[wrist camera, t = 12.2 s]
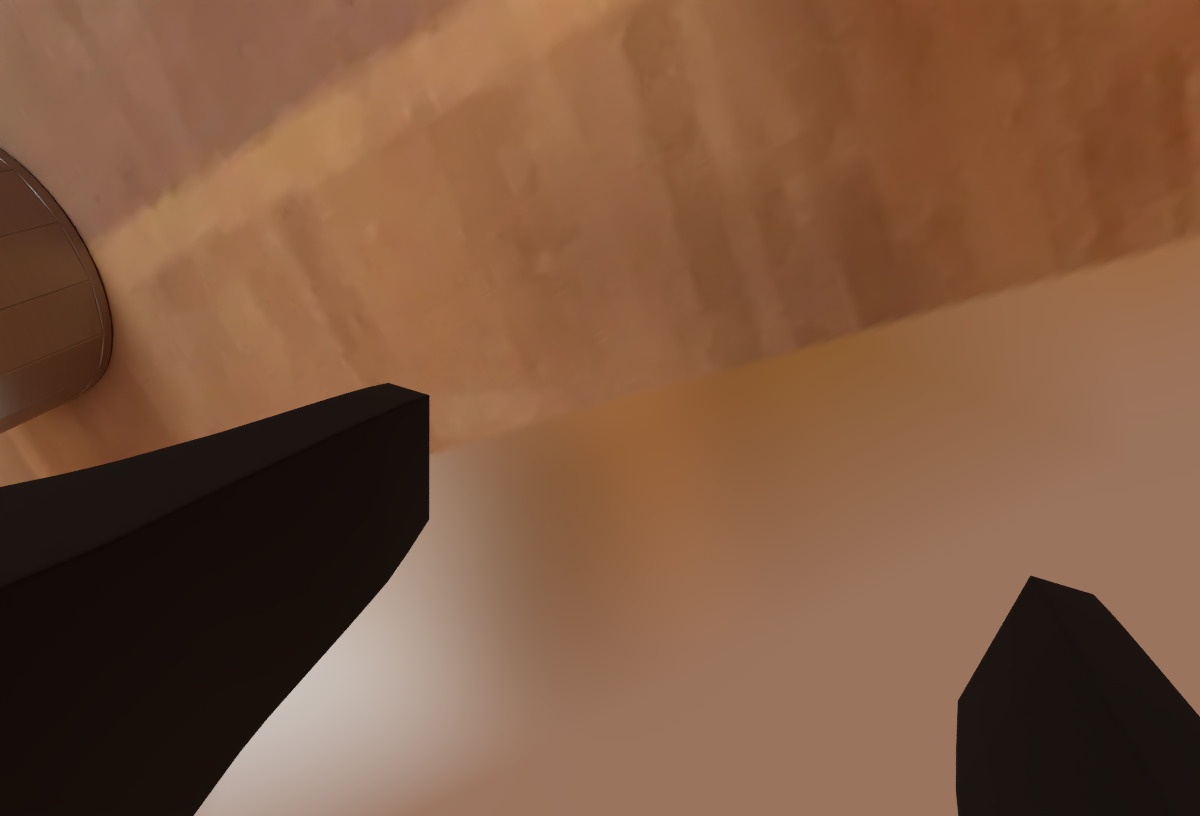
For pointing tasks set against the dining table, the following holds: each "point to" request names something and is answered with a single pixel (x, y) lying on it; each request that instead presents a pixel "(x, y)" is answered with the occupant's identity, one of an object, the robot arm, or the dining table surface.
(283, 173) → the dining table surface
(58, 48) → the dining table surface
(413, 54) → the dining table surface
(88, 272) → the pot
